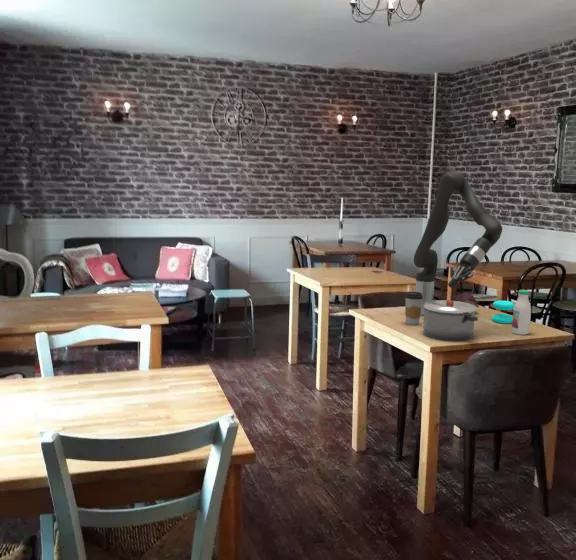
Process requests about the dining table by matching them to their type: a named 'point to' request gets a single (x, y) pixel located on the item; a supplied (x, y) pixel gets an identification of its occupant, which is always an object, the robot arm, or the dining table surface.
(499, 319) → the donuts
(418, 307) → the coffee cup
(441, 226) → the robot arm
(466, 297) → the pine cone
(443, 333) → the cooking pot
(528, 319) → the milk bottle
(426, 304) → the lid
